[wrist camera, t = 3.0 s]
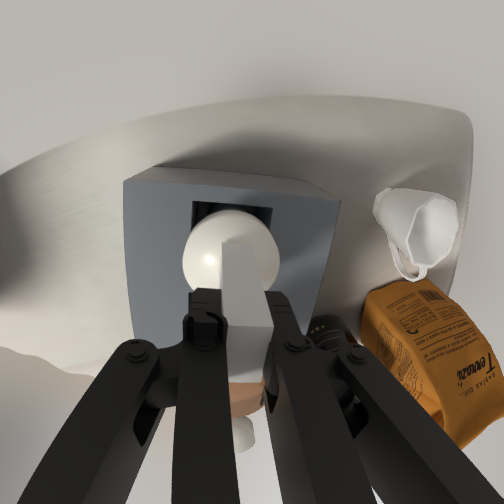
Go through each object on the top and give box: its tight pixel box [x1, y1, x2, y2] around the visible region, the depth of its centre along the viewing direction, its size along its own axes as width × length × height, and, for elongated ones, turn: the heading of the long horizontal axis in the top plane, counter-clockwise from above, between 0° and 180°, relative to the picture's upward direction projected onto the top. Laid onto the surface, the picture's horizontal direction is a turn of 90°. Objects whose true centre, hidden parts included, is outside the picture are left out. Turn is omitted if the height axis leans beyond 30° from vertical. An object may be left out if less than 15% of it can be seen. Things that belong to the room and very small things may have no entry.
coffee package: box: [360, 279, 504, 450], centre depth 23 cm, size 10×12×22 cm
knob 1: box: [182, 202, 280, 291], centre depth 18 cm, size 5×5×8 cm
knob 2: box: [231, 416, 255, 454], centre depth 20 cm, size 5×5×8 cm
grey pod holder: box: [123, 167, 341, 349], centre depth 24 cm, size 14×20×8 cm
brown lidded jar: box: [229, 375, 265, 418], centre depth 18 cm, size 5×5×8 cm
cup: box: [372, 187, 460, 282], centre depth 24 cm, size 7×10×8 cm
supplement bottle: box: [306, 315, 360, 401], centre depth 27 cm, size 7×7×12 cm
